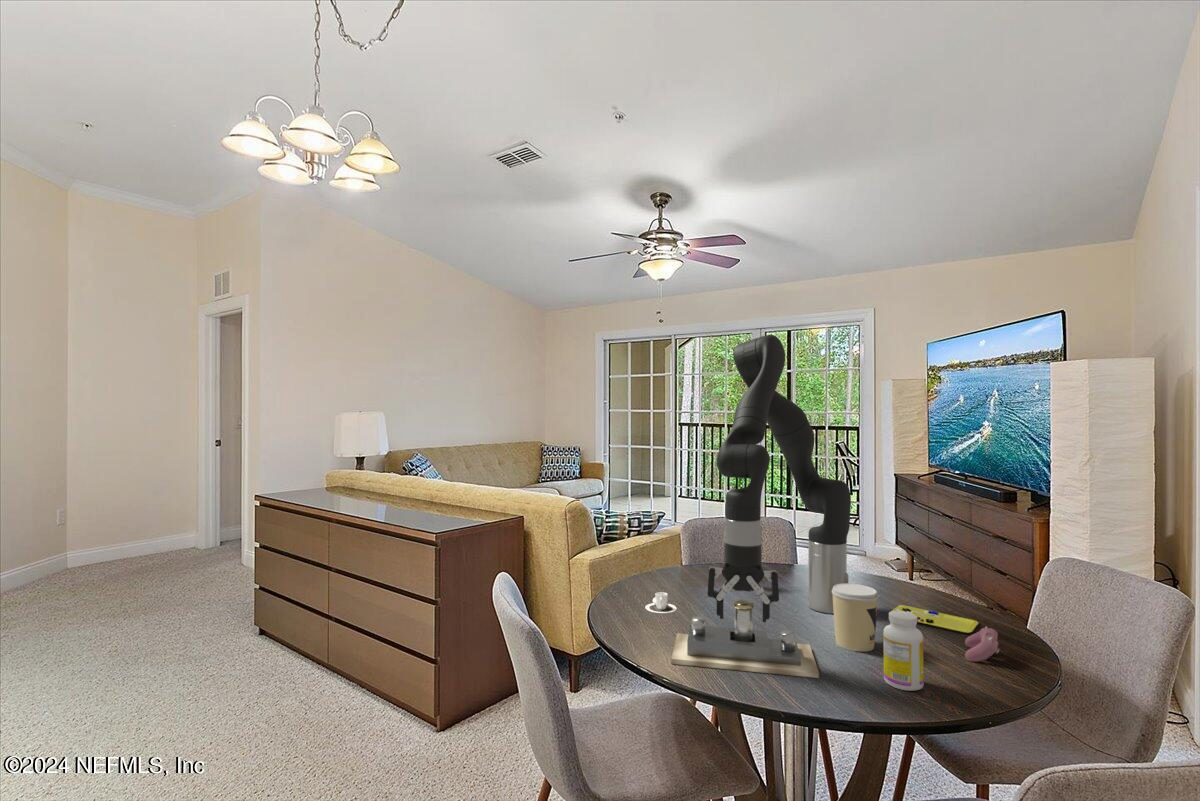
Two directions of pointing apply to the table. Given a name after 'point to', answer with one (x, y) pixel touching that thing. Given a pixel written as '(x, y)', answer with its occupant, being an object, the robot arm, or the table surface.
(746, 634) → the pin
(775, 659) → the knobbed grey block
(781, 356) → the robot arm
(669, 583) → the table surface
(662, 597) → the teacup and saucer
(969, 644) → the video game controller
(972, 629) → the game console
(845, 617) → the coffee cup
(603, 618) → the table surface
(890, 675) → the supplement bottle
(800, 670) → the birch board
